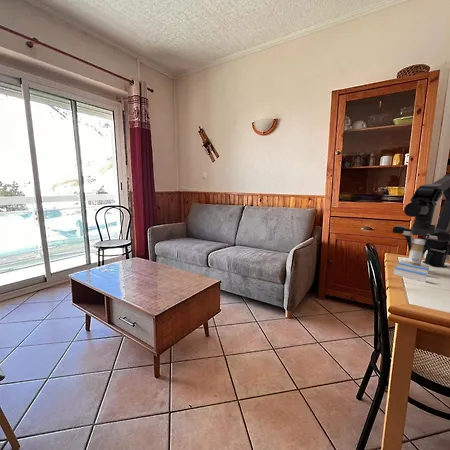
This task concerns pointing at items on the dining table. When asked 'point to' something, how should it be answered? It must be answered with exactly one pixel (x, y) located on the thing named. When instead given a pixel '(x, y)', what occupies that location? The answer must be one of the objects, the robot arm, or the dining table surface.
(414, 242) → the sprinkles bottle
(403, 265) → the rail comb
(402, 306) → the dining table surface
